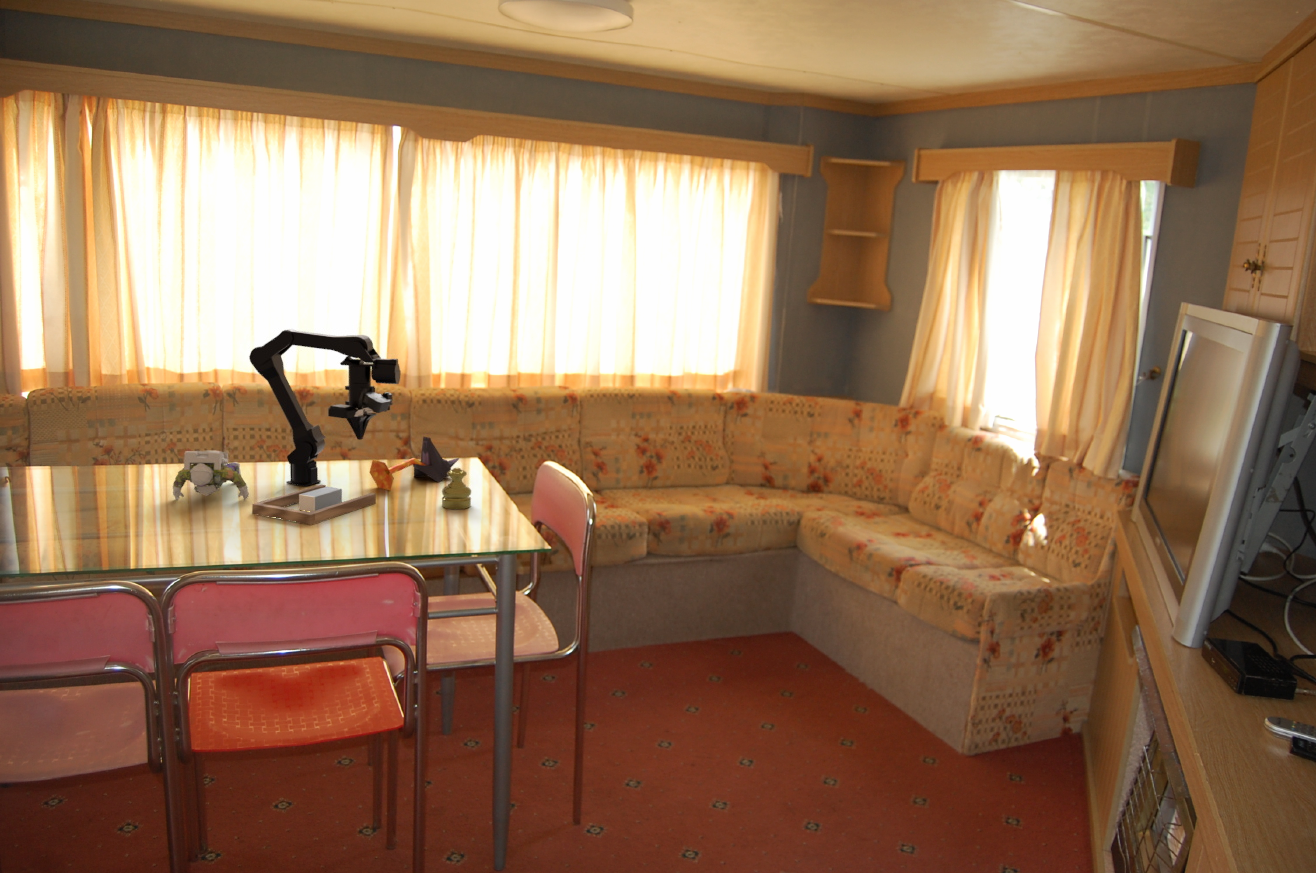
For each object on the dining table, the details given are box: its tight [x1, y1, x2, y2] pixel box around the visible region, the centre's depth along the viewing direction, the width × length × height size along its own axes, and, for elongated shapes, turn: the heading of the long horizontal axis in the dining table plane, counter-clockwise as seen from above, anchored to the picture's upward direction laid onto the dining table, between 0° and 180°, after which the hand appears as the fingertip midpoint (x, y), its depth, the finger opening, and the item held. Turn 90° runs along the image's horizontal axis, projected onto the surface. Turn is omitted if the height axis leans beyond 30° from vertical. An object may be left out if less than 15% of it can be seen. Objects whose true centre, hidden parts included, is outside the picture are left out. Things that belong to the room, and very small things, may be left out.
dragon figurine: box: [369, 436, 460, 491], centre depth 259 cm, size 10×12×25 cm
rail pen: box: [251, 484, 377, 526], centre depth 228 cm, size 18×24×2 cm
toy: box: [172, 450, 250, 501], centre depth 233 cm, size 18×12×30 cm
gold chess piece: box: [441, 467, 472, 510], centre depth 237 cm, size 7×8×10 cm
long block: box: [298, 485, 343, 512], centre depth 230 cm, size 4×4×10 cm
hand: (359, 439), depth 250 cm, fingers closed
